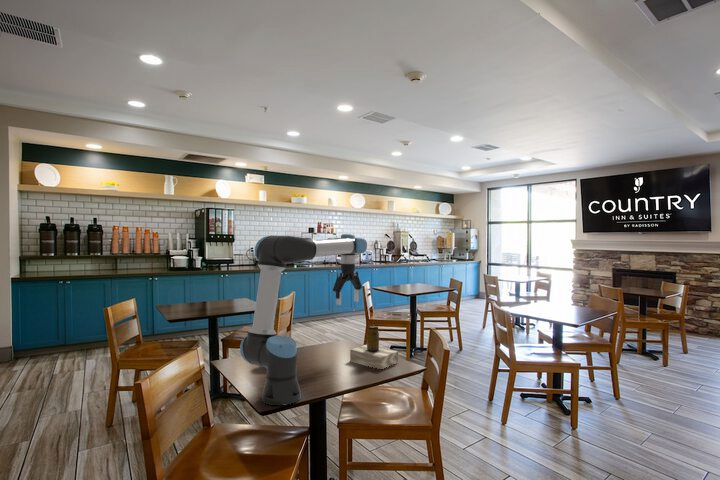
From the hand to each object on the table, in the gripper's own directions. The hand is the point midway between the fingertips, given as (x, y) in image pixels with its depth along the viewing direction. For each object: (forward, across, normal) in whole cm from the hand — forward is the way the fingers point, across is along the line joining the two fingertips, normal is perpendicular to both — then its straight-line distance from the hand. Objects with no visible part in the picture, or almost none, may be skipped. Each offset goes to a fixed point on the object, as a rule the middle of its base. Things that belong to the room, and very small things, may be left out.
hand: (347, 303), depth 204 cm
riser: (+29, -3, +16) cm, 33 cm away
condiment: (+23, -3, +16) cm, 28 cm away
